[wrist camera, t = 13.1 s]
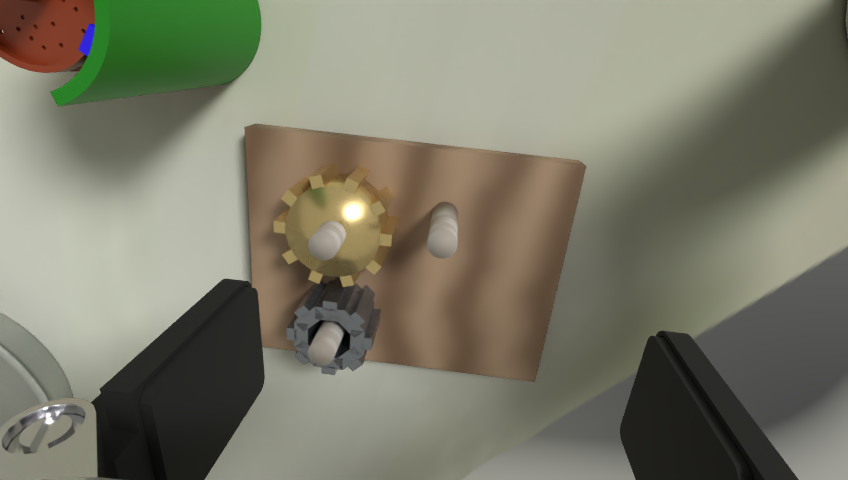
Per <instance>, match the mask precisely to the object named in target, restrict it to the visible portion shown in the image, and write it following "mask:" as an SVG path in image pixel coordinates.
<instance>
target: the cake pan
mask: <svg viewBox="0 0 848 480" xmlns="http://www.w3.org/2000/svg"><path fill="white" fill-rule="evenodd" d="M62 398H73V394H72V390H71V387H70V384H69V382H68V380H67V377H66V375H65V374H64V372H63V370H62V368H61V367H60V365H59V363H58V362H57V361H56V359H55V358H54V357H53V355H52V354H51V353H50V352H49V351H48V349H47V348H46V347H45V346H44V345H43V344H42V343H41V342H40V341H39V340H38V339H37V338H36V337H35V336H34V335H32V334H31V333H30V332H29V331H28V330H26V329H25V328H24V327H22V326H21V325H20V324H18V323H17V322H15V321H14V320H12V319H11V318H9V317H7V316H6V315H4V314H2V313H0V428H1V427H2V426H3V425H4V424H5V423H6V422H8V421H9V420H10V419H12V418H13V417H15V416H16V415H17V414H19V413H21V412H23V411H25V410H27V409H29V408H31V407H33V406H36V405H39V404H42V403H45V402H48V401H52V400H57V399H62Z"/></svg>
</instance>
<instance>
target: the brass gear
mask: <svg viewBox="0 0 848 480" xmlns="http://www.w3.org/2000/svg"><path fill="white" fill-rule="evenodd" d="M368 173H369V170H368V169H366V168H363V167H361V166H358V167H357V168H356V169H355V170H354V171H353V172H352V173H351V174H339V173H338V170H337V166H336V163H332V164H327V165H324V166H323V167H321V168H320V169H319V170H317V171H316V172H315V173H314V174H312V175H311V176H310V177H309V179H308V178H307V177H306V176H305V177H304V178H303V179H301V180H300V181H299V182H297V183H296V184H295V185H294V186H292V187H291V188H290V189H288V190H287V191H286V193H285V194H284V195H283V197H282V198H281V199H282V200H283V201H284V202H285V203H286V204H288V205H289V206H290V207H289V208H288V209H287V210H285V211H284V212H283V213H282V214H281V215H280V216H278V217H277V218H276V219H275V220H274V232H276V233H284V234H286V238H287V241H288V244H289V247H288V249H287V250H286V251H285V252H284V253H283V254H282V256H283V257H284V258H285V260H286V261H287V263H288V264H290V263H292V262H294V261H296V260H299V261H300V262H301V263H302V264H304V265H305V266H306V267H308V268H309V269H311V270H312V271H311V273H310V276H309V279H308V280H311V281H313V282H315V283H318V284H320V282H321V280H322V279H323V277H324V276H325V275H326V276H331V277H340V279H341V283H342V286H343V287H346V286H352V285H354V284H355V282H356V280H357V278H358V276H359V274H360V271H361V270H362V269H364V268H366V269H368V270H369V271H370V272H371V273H372V274H374V275H375V274H376V273H377V272H378V270H379V269H380V268H381V267H382V265H383V263H384V260H385V257H386V255H387V252H388V249H389V247H390V246H391V245H392V243H393V240H394V237H395V234H396V232H397V229H398V222H399V217H393V216H388V212H387V208H388V206H389V204H390V202H391V200H392V198H393V194H392V192H391V191H390V189H389V187H388V186H386V187H385V188H383V189H381V190H379V191H378V190H377V189H376V188H375V187H374V186H373V185H371V184H370V183H369V182H367V181H366V178H367V175H368ZM326 221H336V222H338V223H340V224H341V225H342V226H343V227H344V229H345V232H346V238H345V240H344V242H343V244H342V245H341V247H340V248H339V250H338V251H337V253H336V255H335V256H334V257H333V258H331V259H329V260H319V259H317V258H315V257H314V256H313V255H312V254H311V253H310V251H309V248H308V242H309V240H310V238H311V237H312V236H313V234H314V233H315V232H316V231H317V230H318V228H319V227H320V226H321V225H322V224H323V223H324V222H326Z"/></svg>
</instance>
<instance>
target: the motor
mask: <svg viewBox="0 0 848 480" xmlns="http://www.w3.org/2000/svg"><path fill="white" fill-rule="evenodd" d="M2 30H3V33H2ZM260 35H261V16H260V9H259V4H258V1H257V0H0V57H1V58H3V59H5V60H6V61H8V62H10V63H12V64H14V65H16V66H18V67H20V68H23V69H26V70H30V71H34V72H42V73H51V72H66V71H79V72H78V74H77V75H76V76H75V77H74V78H73V79H72V80H71V81H69V82H68V83H67V84H65V85H64V86H62V87H60V88H58V89H56V90H54V91H51V94H52V96H53V98H54V100H55V102H56V104H57V105H58V106H64V105H71V104H79V103H86V102H94V101H101V100H109V99H117V98H124V97H132V96H139V95H147V94H155V93H162V92H170V91H177V90H185V89H192V88H200V87H208V86H215V85H223V84H225V83H228V82H230V81H232V80H234V79H235V78H237V77H238V76H239V75H241V74H242V73H243V72H244V71H245V70H246V69H247V67H248V66H249V65H250V63H251V62H252V60H253V58H254V56H255V54H256V51H257V48H258V45H259V41H260Z"/></svg>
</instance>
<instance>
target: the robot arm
mask: <svg viewBox="0 0 848 480" xmlns="http://www.w3.org/2000/svg"><path fill="white" fill-rule="evenodd" d="M846 29H847V37H848V1H847V11H846ZM263 384H264V363H263V351H262V338H261V326H260V313H259V301H258V292H257V289H255V288H252V287H251V284H250V283H249V282H248V281H241V280H232V279H223V280H222V281H221V282H219V283H218V284H217V285H216V286H215V287H214V288H213V289H212V290H210V291H209V292H208V293H207V294H206V295H205V296H204V297H203V298H201V299H200V300H199V301H198V302H197V303H196V304H195V305H194V306H192V307H191V308H190V309H189V310H188V311H187V312H186V313H185V314H183V315H182V316H181V317H180V318H179V319H178V320H177V321H176V322H174V323H173V324H172V325H171V326H170V327H169V328H168V329H167V330H165V331H164V332H163V333H162V334H161V335H160V336H159V337H158V338H156V339H155V340H154V341H153V342H152V343H151V344H150V345H149V346H148V347H146V348H145V349H144V350H143V351H142V352H141V353H140V354H139V355H137V356H136V357H135V358H134V359H133V360H132V361H131V362H130V363H128V364H127V365H126V366H125V367H124V368H123V369H122V370H121V371H119V372H118V373H117V374H116V375H115V376H114V377H113V378H112V379H110V380H109V381H108V382H107V383H106V384H105V385H104V386H103V387H101V388H100V392H101V394H100V395H99V396H98V397H97V398H96V399H95V400H93V401H92V402H91V403H90V402H89V401H87V400H83V399H79V398H62V399H57V400H52V401H48V402H45V403H42V404H39V405H36V406H33V407H31V408H29V409H27V410H25V411H23V412H21V413H19V414H17V415H16V416H15V417H13V418H12V419H10V420H9V421H8V422H6V423H5V424H4V425H3V426H2V427H1V428H0V480H204V479H205V478H206V476H207V475H208V473H209V471H210V470H211V468H212V467H213V465H214V464H215V462H216V461H217V459H218V457H219V456H220V454H221V453H222V451H223V450H224V448H225V446H226V445H227V443H228V442H229V440H230V439H231V437H232V436H233V434H234V432H235V431H236V429H237V428H238V426H239V425H240V423H241V421H242V420H243V418H244V417H245V415H246V414H247V412H248V411H249V409H250V407H251V406H252V404H253V403H254V401H255V400H256V398H257V396H258V395H259V393H260V392H261V390H262V387H263ZM620 435H621V440H622V444H623V446H624V449H625V452H626V454H627V457H628V459H629V462H630V465H631V468H632V470H633V473H634V476H635V479H636V480H798V478H797V477H796V476H795V474H794V473H793V472H792V471H791V469H790V468H789V466H788V465H787V464H786V462H785V461H784V460H783V458H782V457H781V456H780V454H779V453H778V452H777V450H776V449H775V448H774V446H773V445H772V444H771V442H770V441H769V440H768V438H767V437H766V436H765V435H764V433H763V432H762V430H761V429H760V428H759V426H758V425H757V424H756V422H755V421H754V420H753V419H752V417H751V416H750V414H749V413H748V412H747V411H746V409H745V408H744V407H743V405H742V404H741V403H740V401H739V400H738V399H737V397H736V396H735V395H734V393H733V392H732V391H731V389H730V388H729V387H728V385H727V384H726V383H725V382H724V380H723V379H722V377H721V376H720V375H719V373H718V372H717V371H716V369H715V368H714V367H713V365H712V364H711V363H710V361H709V360H708V359H707V357H706V356H705V355H704V353H703V352H702V351H701V349H700V348H699V347H698V345H697V344H696V343H695V342H694V340H693V339H692V337H691V336H690V335H688V334H685V333H676V332H668V331H660V332H658V333H657V335H656V336H651V337H649V339H648V341H647V344H646V347H645V350H644V353H643V356H642V359H641V363H640V366H639V369H638V372H637V375H636V379H635V381H634V385H633V388H632V391H631V394H630V397H629V400H628V404H627V407H626V410H625V413H624V416H623V419H622V423H621V427H620Z"/></svg>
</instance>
